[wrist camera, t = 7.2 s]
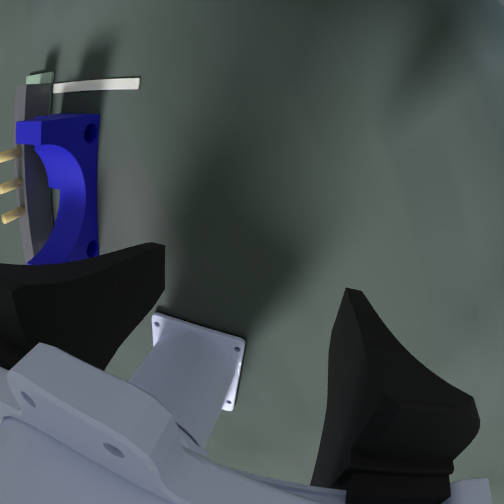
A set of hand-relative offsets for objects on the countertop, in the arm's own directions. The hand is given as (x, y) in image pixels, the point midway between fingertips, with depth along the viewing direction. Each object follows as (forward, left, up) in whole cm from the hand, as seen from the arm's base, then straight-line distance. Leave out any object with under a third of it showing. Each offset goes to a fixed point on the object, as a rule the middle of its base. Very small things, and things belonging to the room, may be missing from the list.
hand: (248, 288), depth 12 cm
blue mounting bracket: (-1, +17, -9) cm, 19 cm away
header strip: (0, +22, -9) cm, 24 cm away
